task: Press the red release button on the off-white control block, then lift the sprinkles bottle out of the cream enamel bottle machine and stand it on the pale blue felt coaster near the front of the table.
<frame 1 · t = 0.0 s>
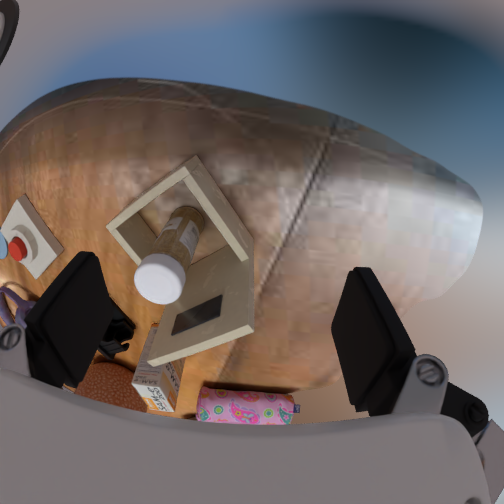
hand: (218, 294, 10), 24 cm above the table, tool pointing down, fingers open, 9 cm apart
pencil case: (246, 392, 55), on the table
button block: (32, 236, 35), on the table
release button: (17, 249, 31), point 4 cm above the table, slide at 0.1 cm
planter: (120, 374, 53), on the table
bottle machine: (187, 222, 34), on the table
supplement box: (170, 337, 46), on the table
sprinkles bottle: (187, 221, 34), resting in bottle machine
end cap: (108, 313, 43), on the table
headphones: (29, 313, 45), on the table
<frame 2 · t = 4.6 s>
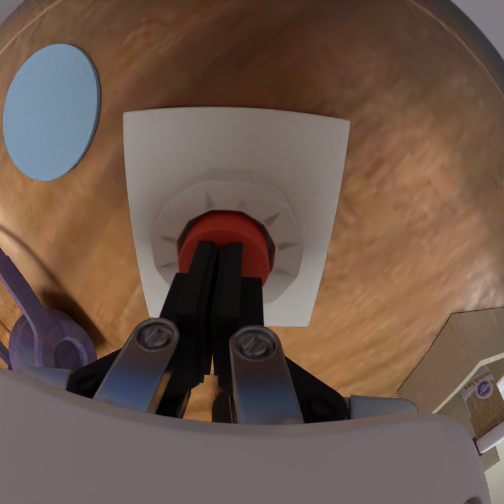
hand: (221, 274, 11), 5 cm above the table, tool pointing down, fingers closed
button block: (231, 217, 15), on the table
release button: (224, 258, 11), point 4 cm above the table, slide at -0.2 cm, touching gripper
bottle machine: (457, 351, 23), on the table
coaster: (45, 112, 11), on the table
sprinkles bottle: (457, 350, 23), resting in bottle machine
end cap: (248, 398, 25), on the table
headphones: (21, 304, 20), on the table
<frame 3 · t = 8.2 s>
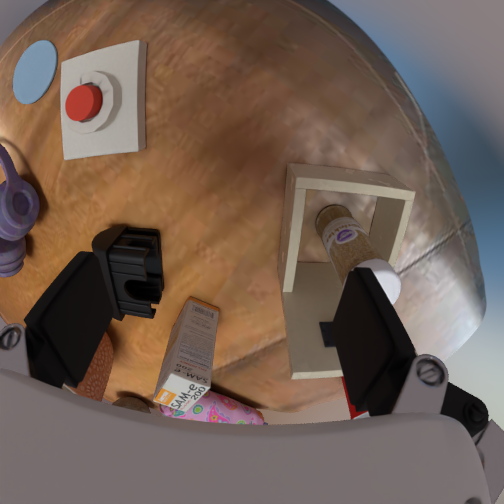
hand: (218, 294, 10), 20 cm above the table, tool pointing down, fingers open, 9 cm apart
pencil case: (216, 395, 50), on the table
button block: (105, 101, 23), on the table
release button: (83, 102, 19), point 4 cm above the table, slide at 0.1 cm
planter: (82, 325, 40), on the table
decorative stone: (136, 398, 53), on the table
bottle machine: (333, 222, 30), on the table
coaster: (34, 71, 19), on the table
supplement box: (195, 318, 38), on the table
sprinkles bottle: (333, 221, 30), resting in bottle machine
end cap: (137, 258, 33), on the table
headphones: (5, 195, 27), on the table
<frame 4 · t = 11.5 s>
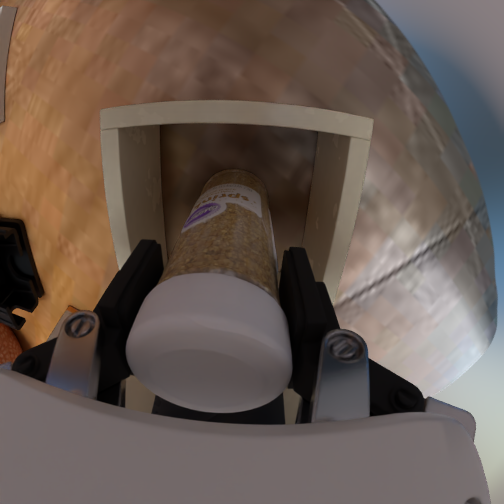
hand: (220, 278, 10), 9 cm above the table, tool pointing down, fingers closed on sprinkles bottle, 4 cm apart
planter: (0, 327, 28), on the table
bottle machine: (234, 200, 18), on the table
sprinkles bottle: (234, 199, 18), resting in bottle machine, touching gripper
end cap: (15, 255, 20), on the table
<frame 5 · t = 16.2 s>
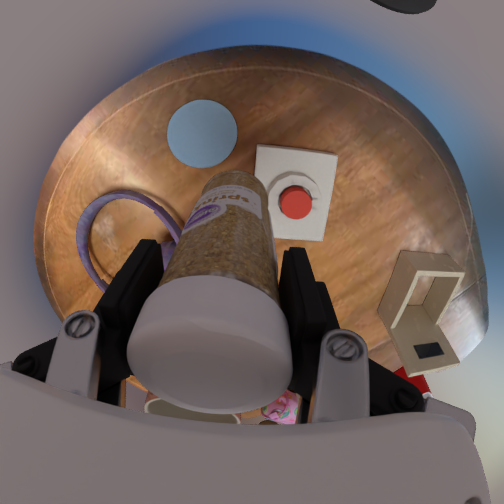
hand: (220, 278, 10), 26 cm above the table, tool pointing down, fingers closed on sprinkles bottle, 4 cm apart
pencil case: (298, 398, 62), on the table
button block: (290, 191, 35), on the table
release button: (295, 202, 31), point 4 cm above the table, slide at 0.1 cm
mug: (407, 373, 60), on the table
planter: (201, 355, 52), on the table
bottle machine: (414, 282, 43), on the table
flower pot: (268, 422, 70), on the table
coaster: (201, 133, 31), on the table
sprinkles bottle: (234, 200, 18), point 17 cm above the table, touching gripper
headphones: (138, 246, 40), on the table
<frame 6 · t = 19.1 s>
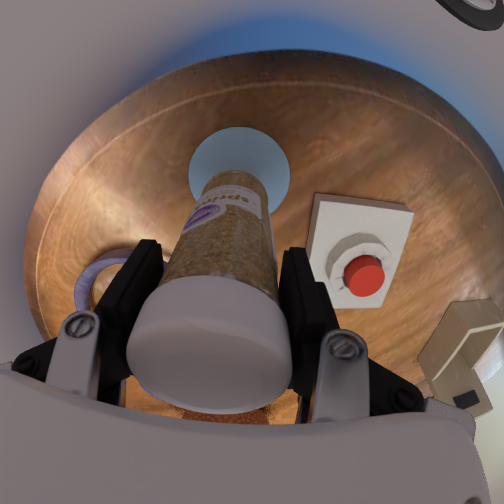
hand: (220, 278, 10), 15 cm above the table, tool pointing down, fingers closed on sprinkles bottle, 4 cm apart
button block: (350, 251, 27), on the table
release button: (364, 276, 23), point 4 cm above the table, slide at 0.1 cm
planter: (226, 407, 45), on the table
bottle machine: (456, 329, 35), on the table
coaster: (238, 176, 23), on the table
sprinkles bottle: (234, 200, 18), point 6 cm above the table, touching gripper
headphones: (154, 310, 32), on the table
when the fingers open (9 cm above the table, at t = 21.0 s): sprinkles bottle stays where it is, resting on coaster.
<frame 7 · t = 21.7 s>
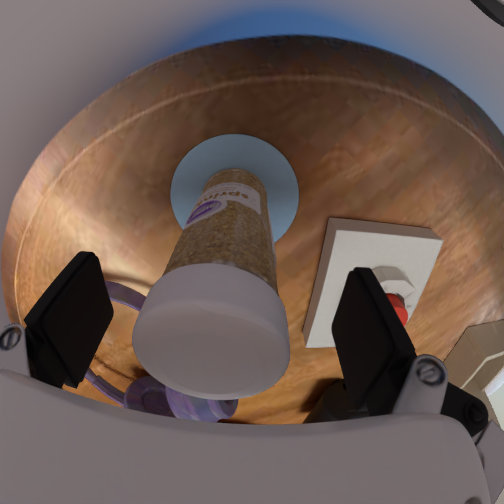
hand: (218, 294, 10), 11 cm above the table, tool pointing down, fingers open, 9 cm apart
button block: (366, 283, 23), on the table
release button: (384, 317, 19), point 4 cm above the table, slide at 0.1 cm
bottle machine: (469, 352, 31), on the table
coaster: (234, 197, 19), on the table
sprinkles bottle: (234, 198, 19), resting on coaster
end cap: (330, 395, 33), on the table
headphones: (141, 343, 27), on the table
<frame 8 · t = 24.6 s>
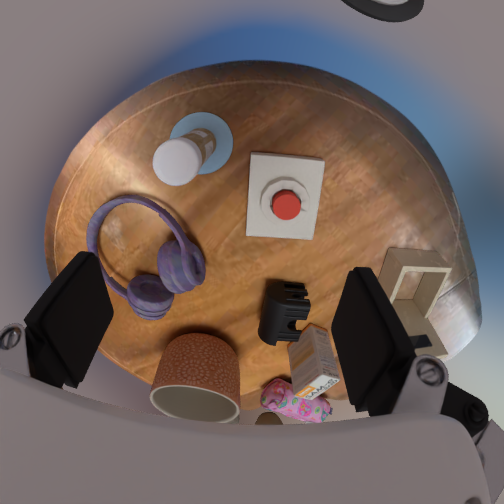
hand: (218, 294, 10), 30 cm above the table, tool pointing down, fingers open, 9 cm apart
pencil case: (296, 390, 66), on the table
button block: (282, 194, 39), on the table
release button: (286, 205, 35), point 4 cm above the table, slide at 0.1 cm
planter: (203, 347, 56), on the table
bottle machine: (403, 278, 47), on the table
flower pot: (268, 414, 74), on the table
coaster: (200, 143, 35), on the table
supplement box: (307, 336, 54), on the table
sprinkles bottle: (200, 143, 35), resting on coaster
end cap: (280, 300, 49), on the table
headphones: (144, 245, 43), on the table
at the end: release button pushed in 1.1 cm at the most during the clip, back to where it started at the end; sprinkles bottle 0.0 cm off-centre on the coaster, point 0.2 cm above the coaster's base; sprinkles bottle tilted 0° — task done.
